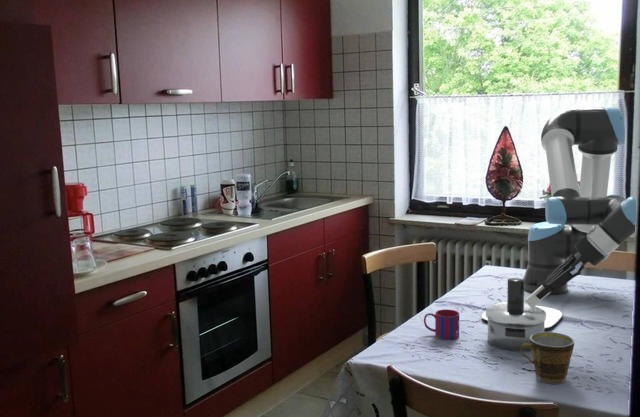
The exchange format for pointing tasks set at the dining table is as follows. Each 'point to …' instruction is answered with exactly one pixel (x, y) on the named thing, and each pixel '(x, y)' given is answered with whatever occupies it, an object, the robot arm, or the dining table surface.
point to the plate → (551, 316)
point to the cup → (445, 324)
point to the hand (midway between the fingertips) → (528, 304)
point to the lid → (515, 308)
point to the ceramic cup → (550, 356)
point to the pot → (512, 335)
